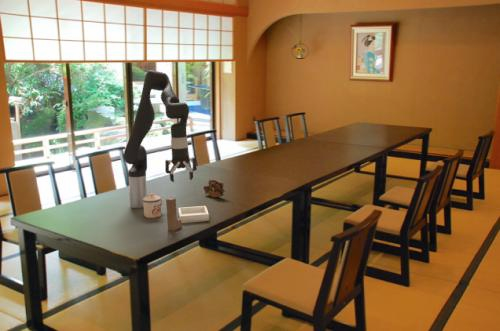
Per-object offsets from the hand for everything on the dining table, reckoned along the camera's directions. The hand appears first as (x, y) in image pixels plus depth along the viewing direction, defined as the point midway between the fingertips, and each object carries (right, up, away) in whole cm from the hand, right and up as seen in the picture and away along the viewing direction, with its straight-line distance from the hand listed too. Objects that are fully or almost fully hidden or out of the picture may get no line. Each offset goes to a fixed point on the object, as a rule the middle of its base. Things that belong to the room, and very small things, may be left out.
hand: (181, 180), depth 232 cm
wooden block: (-3, -23, +1) cm, 23 cm away
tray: (+4, -19, +17) cm, 25 cm away
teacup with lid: (-17, -18, +23) cm, 34 cm away
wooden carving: (+12, -11, +52) cm, 55 cm away
